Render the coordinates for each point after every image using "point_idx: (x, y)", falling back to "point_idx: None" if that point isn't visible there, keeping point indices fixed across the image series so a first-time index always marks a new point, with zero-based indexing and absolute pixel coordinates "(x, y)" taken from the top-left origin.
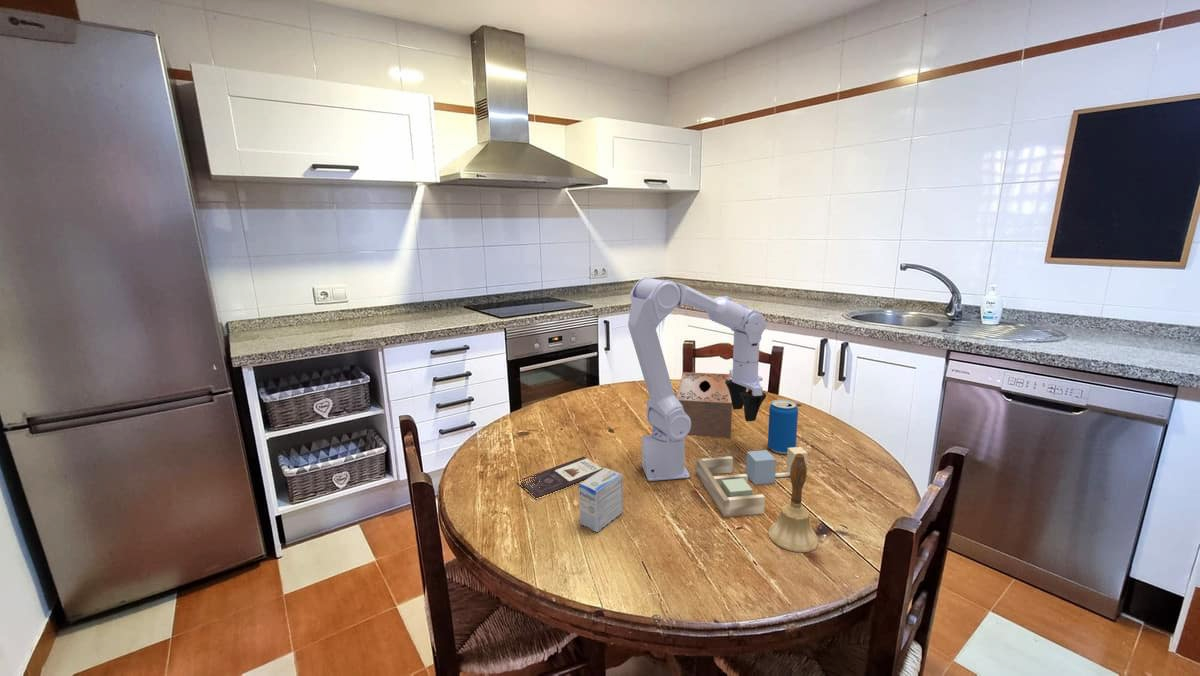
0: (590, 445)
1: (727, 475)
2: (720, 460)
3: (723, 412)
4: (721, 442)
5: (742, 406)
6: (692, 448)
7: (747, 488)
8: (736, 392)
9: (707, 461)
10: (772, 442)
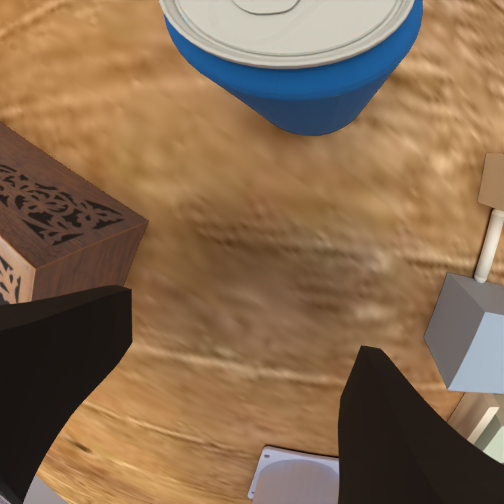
0: (144, 497)
1: None
2: None
3: (68, 284)
4: (173, 276)
5: (120, 294)
6: (194, 382)
7: None
8: (44, 405)
9: None
10: (323, 131)
